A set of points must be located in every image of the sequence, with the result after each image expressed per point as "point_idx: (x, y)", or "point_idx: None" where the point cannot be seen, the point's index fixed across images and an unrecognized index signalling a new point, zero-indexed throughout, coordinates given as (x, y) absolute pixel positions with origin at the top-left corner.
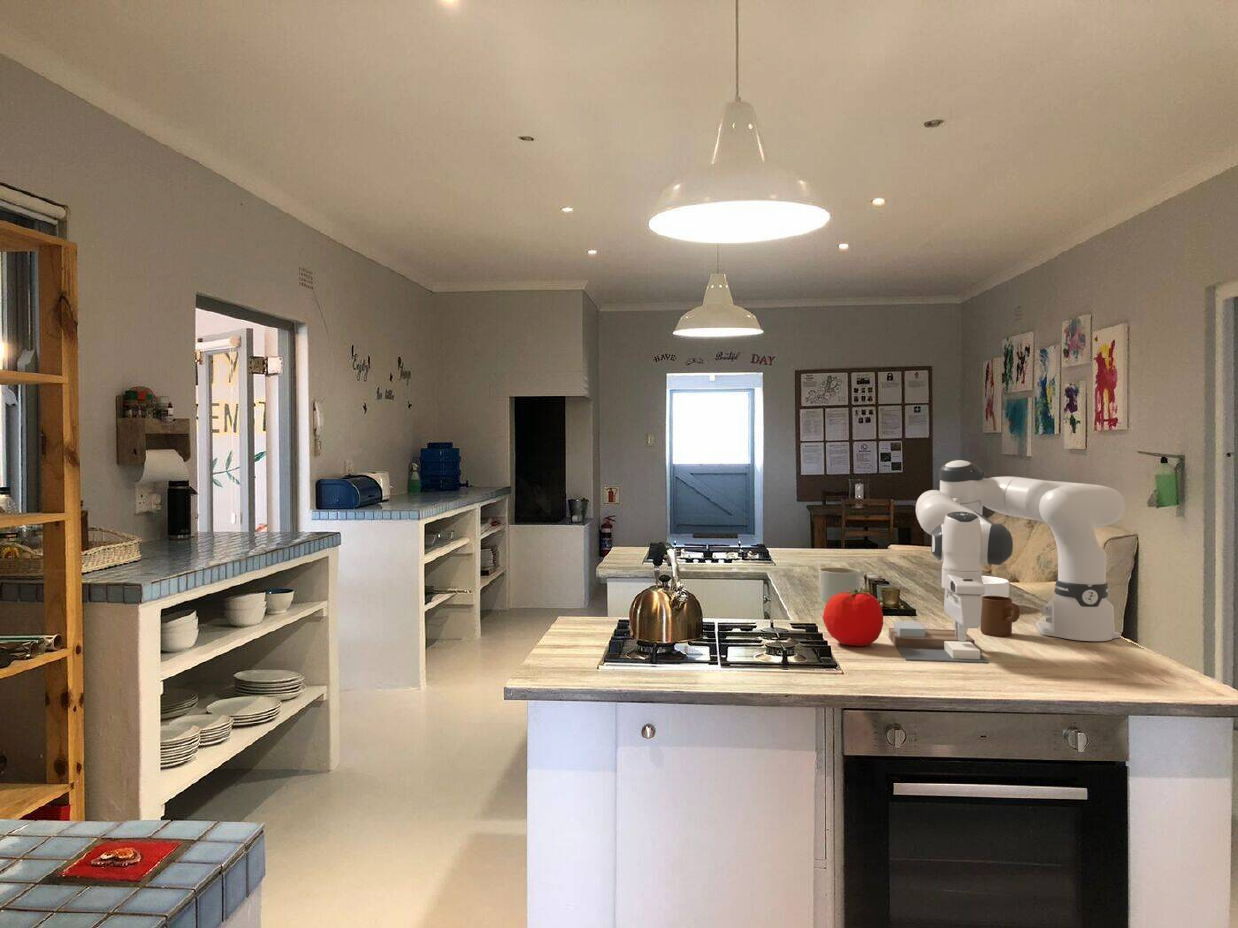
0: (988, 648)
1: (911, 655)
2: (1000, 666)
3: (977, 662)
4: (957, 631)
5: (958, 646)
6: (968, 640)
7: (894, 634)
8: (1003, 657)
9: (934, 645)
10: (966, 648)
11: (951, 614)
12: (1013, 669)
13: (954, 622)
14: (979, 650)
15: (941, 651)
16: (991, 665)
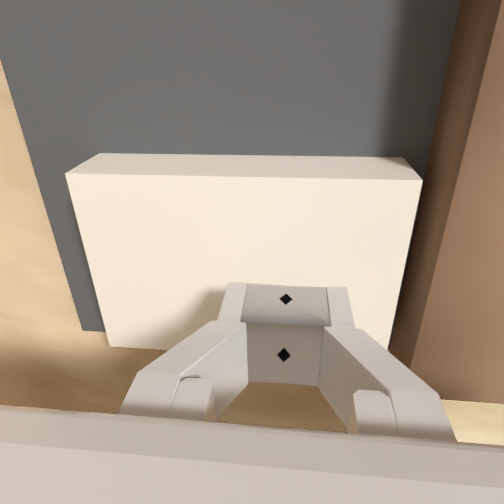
0: (452, 419)
1: None
2: (39, 355)
3: (70, 278)
4: (317, 335)
5: (202, 246)
6: (409, 363)
7: None
8: (241, 417)
9: (453, 78)
10: (146, 283)
11: (427, 496)
12: (6, 384)
13: (399, 398)
14: (109, 342)
15: (318, 115)
16: (42, 325)
